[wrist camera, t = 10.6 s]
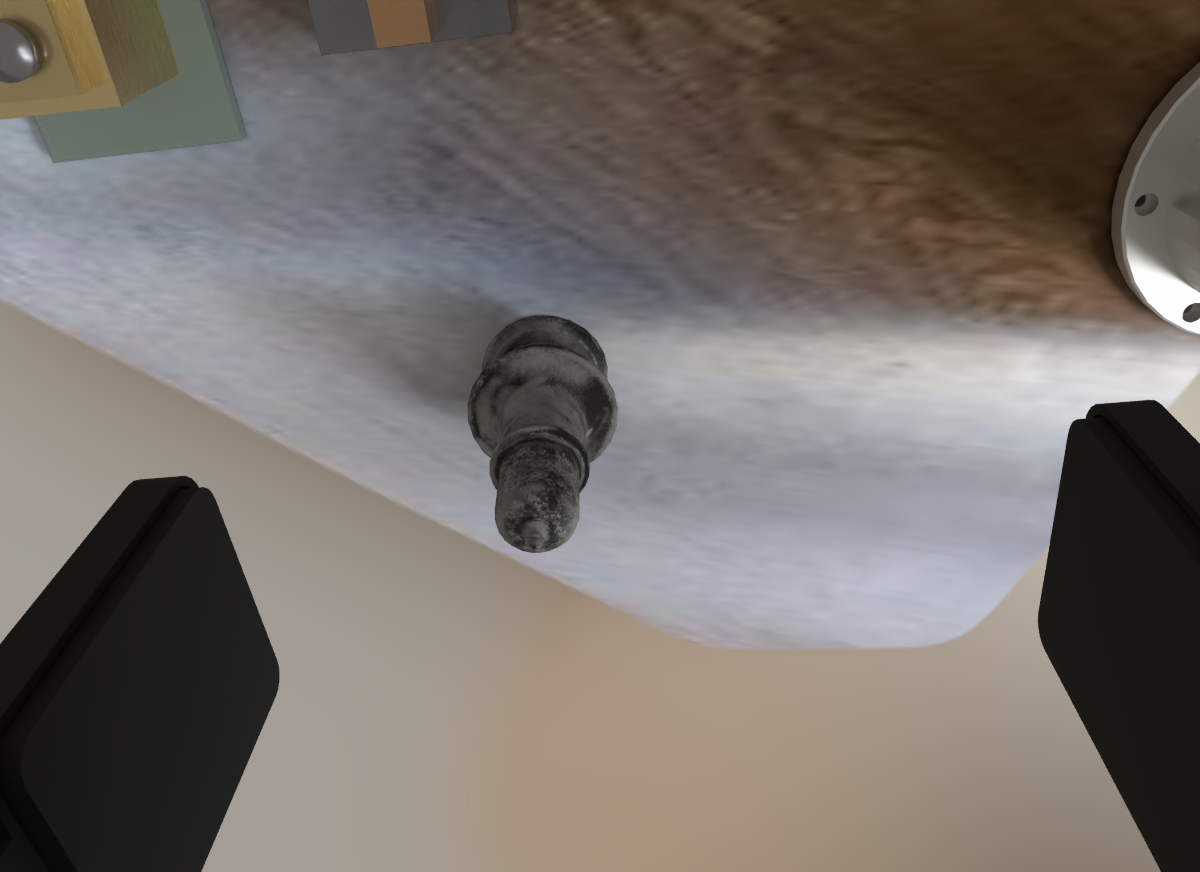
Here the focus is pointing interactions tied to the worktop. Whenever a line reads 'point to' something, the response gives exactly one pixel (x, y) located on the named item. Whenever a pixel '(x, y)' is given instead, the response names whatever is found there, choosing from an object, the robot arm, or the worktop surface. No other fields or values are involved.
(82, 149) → the mat
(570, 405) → the salt shaker
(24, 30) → the lever cap
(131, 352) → the worktop surface
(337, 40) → the body
